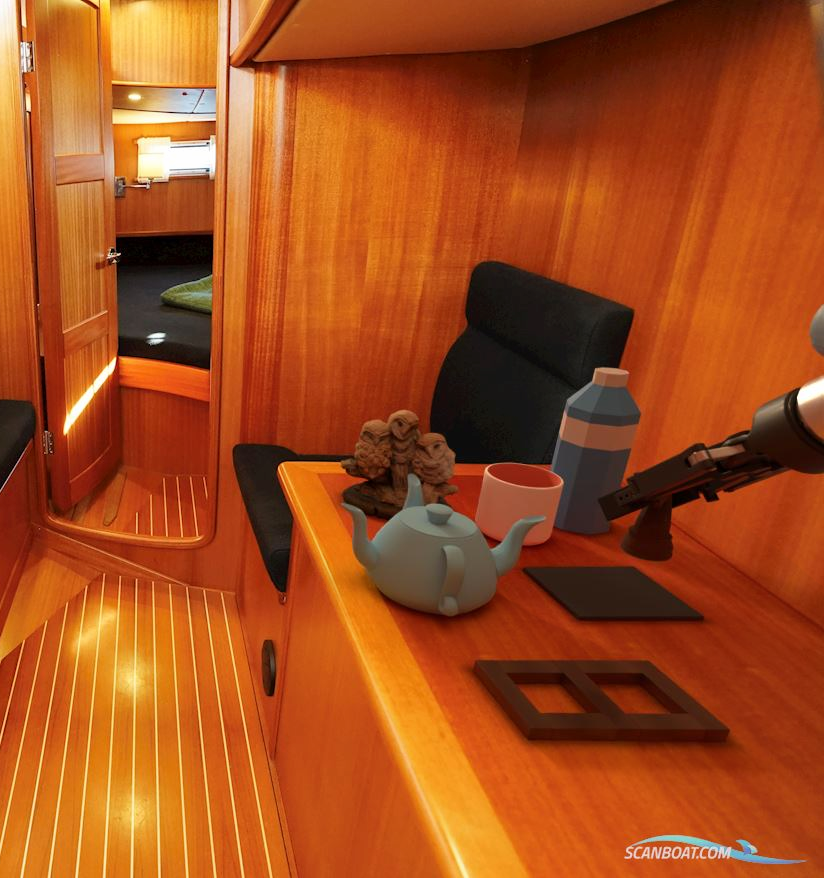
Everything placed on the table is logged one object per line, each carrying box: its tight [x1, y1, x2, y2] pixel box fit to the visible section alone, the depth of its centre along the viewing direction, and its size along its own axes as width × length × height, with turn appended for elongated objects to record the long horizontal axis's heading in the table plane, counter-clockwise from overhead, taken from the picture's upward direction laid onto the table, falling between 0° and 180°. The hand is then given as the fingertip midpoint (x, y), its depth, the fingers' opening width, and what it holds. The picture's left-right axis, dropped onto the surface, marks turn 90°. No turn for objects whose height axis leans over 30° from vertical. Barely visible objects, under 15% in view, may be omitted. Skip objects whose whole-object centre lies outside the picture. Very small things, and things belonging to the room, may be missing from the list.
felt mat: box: [522, 566, 705, 621], centre depth 93 cm, size 15×12×1 cm
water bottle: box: [549, 366, 642, 536], centre depth 108 cm, size 9×9×25 cm
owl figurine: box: [340, 409, 459, 521], centre depth 117 cm, size 18×12×17 cm, turn 68°
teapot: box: [340, 474, 546, 617], centre depth 94 cm, size 17×19×12 cm
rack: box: [472, 659, 731, 742], centre depth 74 cm, size 19×11×2 cm, turn 87°
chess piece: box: [619, 494, 674, 563], centre depth 78 cm, size 5×5×10 cm
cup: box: [474, 462, 564, 547], centre depth 108 cm, size 10×10×10 cm
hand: (624, 507), depth 82 cm, fingers closed on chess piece, 4 cm apart
